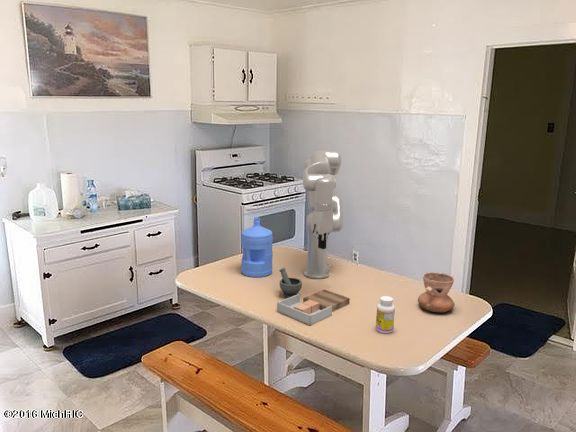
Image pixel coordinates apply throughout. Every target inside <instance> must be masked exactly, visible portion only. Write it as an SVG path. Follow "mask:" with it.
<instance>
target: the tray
mask: <svg viewBox="0 0 576 432" xmlns="http://www.w3.org/2000/svg"><path fill="white" fill-rule="evenodd" d="M276 303H277V304H276V311H277V313H280V314H282V315H284V316H286V317H289V318H291V319H293V320H295V321H298V322H300V323H302V324H306V325H308V326H313V325H315V324H317V323H319V322H321V321H324V320H325V319H328V318H330V317H331V316H333V312H332V306H329V307H327V308H325V309H323V310H320V309H319V310H317V311H316V312H314V313H310V314H306V313H304V312H301V311H299V310H296V309H294V306H296V305H298V304H300V303H303V301H302V302H301V294H300V293H297V295H295V296H292V297H290V298H284V299H282V300H280V301H277V302H276Z"/></svg>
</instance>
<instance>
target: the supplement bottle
mask: <svg viewBox="0 0 576 432" xmlns="http://www.w3.org/2000/svg"><path fill="white" fill-rule="evenodd" d="M379 301H380V302H378V304H377V305H376V319H375V329H376V331H378V332H379V333H381V334H391V333H392V332H394V327H395V315H396V314H395V313H396V306H395V305H394V304H393V302H394V298H393V297H391V296H389V295H388V296H387V295H383V296H380V299H379Z"/></svg>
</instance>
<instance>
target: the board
mask: <svg viewBox="0 0 576 432" xmlns="http://www.w3.org/2000/svg"><path fill="white" fill-rule="evenodd" d="M308 300H313V301H316V302H319V303H320V304H319V309H320V310H323V309H325V308H327V307H329V306H332V313H333V312H335V311H337V310H339V309H342V308H343V307H346V306H348V305H350V300H351V299H350V298H349V297H347V296H344V295H341V294H339V293H336V292H333V291H330V290H327V289H322V290H319V291H318V292H315V293H312V294H310V295H308V296H305V297H303V298H302V303H304V302H306V301H308Z"/></svg>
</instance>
